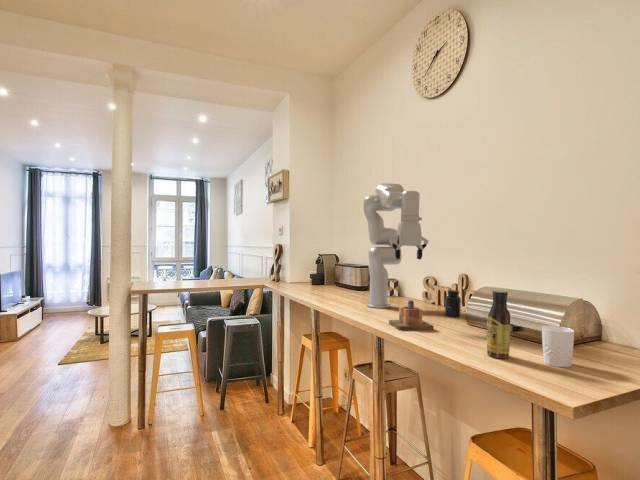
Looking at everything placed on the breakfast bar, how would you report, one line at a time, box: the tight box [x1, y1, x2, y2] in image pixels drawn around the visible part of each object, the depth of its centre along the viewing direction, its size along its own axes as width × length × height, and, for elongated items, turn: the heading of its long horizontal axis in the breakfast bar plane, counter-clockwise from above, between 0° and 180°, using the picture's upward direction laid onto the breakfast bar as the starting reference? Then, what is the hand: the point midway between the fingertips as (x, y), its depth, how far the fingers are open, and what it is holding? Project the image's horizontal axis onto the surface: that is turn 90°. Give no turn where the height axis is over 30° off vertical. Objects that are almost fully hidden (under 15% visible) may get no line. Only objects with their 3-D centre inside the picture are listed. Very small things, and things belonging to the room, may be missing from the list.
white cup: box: [541, 325, 575, 368], centre depth 105 cm, size 8×8×10 cm
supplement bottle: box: [444, 289, 462, 318], centre depth 172 cm, size 7×7×12 cm
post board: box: [388, 299, 434, 332], centre depth 149 cm, size 12×14×11 cm
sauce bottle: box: [486, 289, 511, 359], centre depth 111 cm, size 7×6×20 cm
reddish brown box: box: [398, 306, 423, 325], centre depth 149 cm, size 7×7×6 cm
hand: (408, 259), depth 160 cm, fingers open, 9 cm apart
